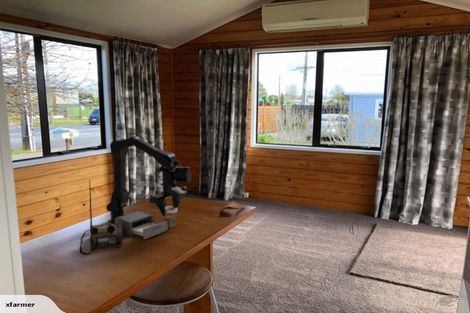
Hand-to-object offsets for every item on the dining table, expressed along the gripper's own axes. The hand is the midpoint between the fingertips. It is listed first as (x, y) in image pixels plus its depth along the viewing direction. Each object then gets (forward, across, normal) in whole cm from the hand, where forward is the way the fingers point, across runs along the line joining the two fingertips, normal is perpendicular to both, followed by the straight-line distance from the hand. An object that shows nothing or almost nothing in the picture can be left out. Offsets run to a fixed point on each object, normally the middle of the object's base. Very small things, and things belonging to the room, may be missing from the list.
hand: (169, 213), depth 163 cm
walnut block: (+6, 0, 0) cm, 6 cm away
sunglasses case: (+7, +35, -10) cm, 37 cm away
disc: (-1, 0, 0) cm, 1 cm away
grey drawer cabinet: (+6, -12, +10) cm, 17 cm away
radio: (+6, -32, +6) cm, 33 cm away
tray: (+5, -12, +1) cm, 13 cm away
